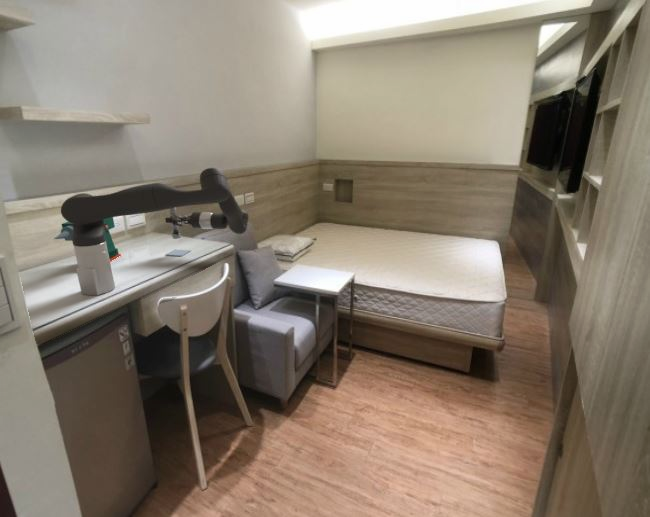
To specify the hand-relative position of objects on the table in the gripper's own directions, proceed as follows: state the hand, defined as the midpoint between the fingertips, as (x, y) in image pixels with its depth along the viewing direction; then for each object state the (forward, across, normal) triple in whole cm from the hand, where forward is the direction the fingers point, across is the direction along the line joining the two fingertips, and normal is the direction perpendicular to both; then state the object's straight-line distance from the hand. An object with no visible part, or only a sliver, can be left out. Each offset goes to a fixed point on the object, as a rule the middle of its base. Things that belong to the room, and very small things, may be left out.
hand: (168, 219), depth 157 cm
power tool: (+21, +24, +16) cm, 36 cm away
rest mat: (-3, 0, +16) cm, 16 cm away
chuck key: (-3, 0, +8) cm, 9 cm away
